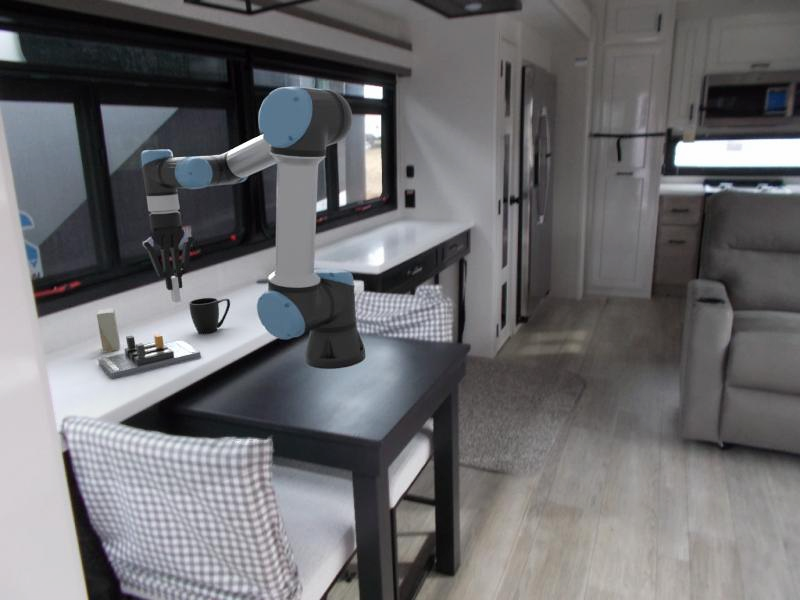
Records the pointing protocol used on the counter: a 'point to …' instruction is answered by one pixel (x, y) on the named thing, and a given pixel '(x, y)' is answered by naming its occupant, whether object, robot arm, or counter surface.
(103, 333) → the box
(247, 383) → the counter surface
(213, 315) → the mug
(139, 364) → the panel
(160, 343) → the breaker handle
